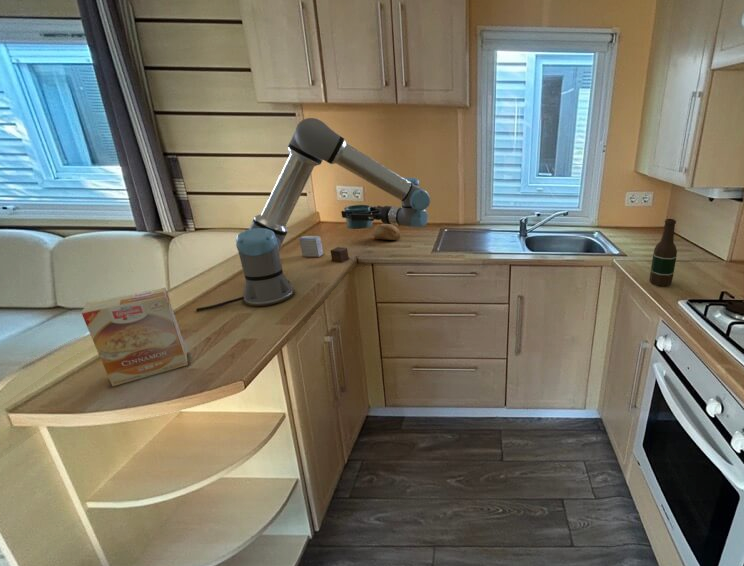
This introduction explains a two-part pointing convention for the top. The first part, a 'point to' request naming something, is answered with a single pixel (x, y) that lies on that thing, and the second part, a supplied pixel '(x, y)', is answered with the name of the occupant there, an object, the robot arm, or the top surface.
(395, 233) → the bread roll
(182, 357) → the coffeecake box
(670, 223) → the beer bottle
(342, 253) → the block
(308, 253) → the medicine box
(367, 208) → the teal blue cylinder
